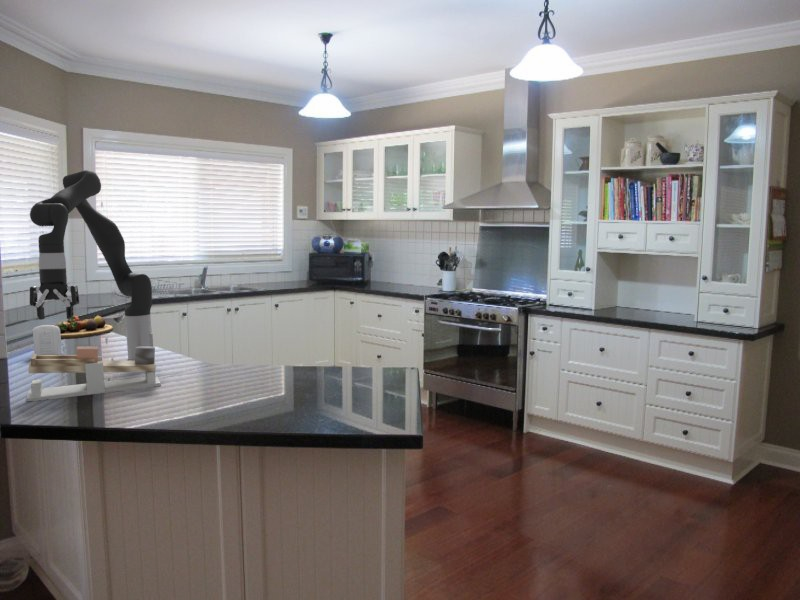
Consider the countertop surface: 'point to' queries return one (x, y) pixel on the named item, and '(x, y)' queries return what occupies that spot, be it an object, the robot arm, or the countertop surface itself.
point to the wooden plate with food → (83, 327)
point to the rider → (87, 352)
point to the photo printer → (47, 340)
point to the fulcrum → (91, 384)
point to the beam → (73, 365)
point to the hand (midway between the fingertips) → (55, 318)
